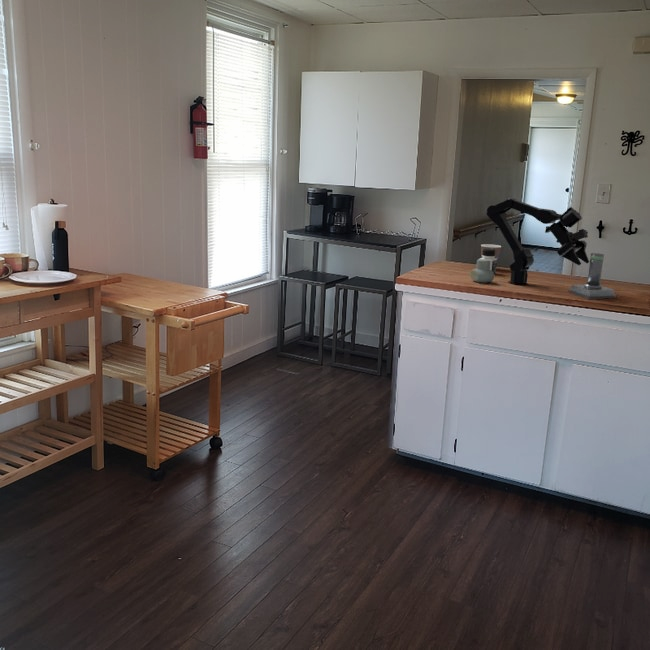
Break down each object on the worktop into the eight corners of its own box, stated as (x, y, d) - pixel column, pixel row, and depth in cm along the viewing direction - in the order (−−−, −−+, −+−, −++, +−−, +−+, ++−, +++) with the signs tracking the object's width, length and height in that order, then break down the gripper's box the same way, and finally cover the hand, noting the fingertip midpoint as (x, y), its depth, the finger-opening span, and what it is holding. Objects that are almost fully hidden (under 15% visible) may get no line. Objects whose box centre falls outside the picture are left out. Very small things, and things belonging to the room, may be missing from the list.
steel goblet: (585, 287, 280) (589, 254, 277) (583, 285, 287) (587, 252, 283) (602, 289, 278) (607, 255, 275) (600, 286, 285) (605, 253, 281)
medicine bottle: (491, 274, 325) (493, 250, 323) (477, 273, 329) (479, 248, 326) (496, 273, 331) (498, 248, 328) (482, 271, 335) (484, 247, 332)
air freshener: (495, 283, 302) (498, 261, 299) (479, 284, 299) (481, 261, 297) (483, 279, 312) (485, 258, 309) (467, 279, 309) (469, 258, 307)
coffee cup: (501, 271, 339) (503, 247, 336) (480, 270, 339) (483, 246, 336) (496, 267, 349) (498, 244, 346) (476, 267, 349) (478, 243, 346)
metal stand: (588, 299, 275) (589, 290, 274) (567, 292, 288) (568, 284, 287) (617, 298, 279) (618, 290, 278) (595, 291, 292) (596, 283, 291)
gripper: (568, 223, 276) (591, 253, 271) (585, 221, 289) (607, 250, 285) (547, 240, 282) (569, 270, 278) (564, 237, 296) (586, 266, 292)
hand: (584, 263), depth 283 cm, fingers open, 9 cm apart
